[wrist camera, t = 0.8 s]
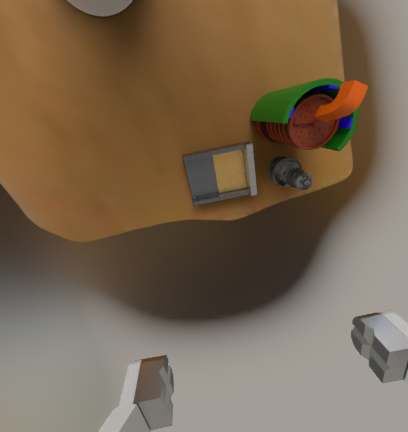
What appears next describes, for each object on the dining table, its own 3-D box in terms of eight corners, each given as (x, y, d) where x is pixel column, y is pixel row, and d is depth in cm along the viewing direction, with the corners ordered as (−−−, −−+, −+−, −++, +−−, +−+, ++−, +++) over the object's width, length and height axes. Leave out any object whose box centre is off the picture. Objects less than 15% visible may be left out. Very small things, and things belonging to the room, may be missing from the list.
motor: (245, 137, 44) (290, 150, 26) (256, 86, 41) (316, 59, 22) (293, 145, 46) (368, 162, 27) (307, 96, 42) (403, 78, 24)
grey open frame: (193, 201, 48) (193, 207, 45) (182, 154, 44) (183, 157, 41) (251, 189, 48) (257, 194, 45) (246, 141, 44) (252, 143, 41)
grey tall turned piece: (295, 154, 46) (330, 164, 35) (292, 181, 49) (324, 199, 38) (267, 156, 46) (293, 167, 35) (265, 184, 48) (290, 202, 37)
